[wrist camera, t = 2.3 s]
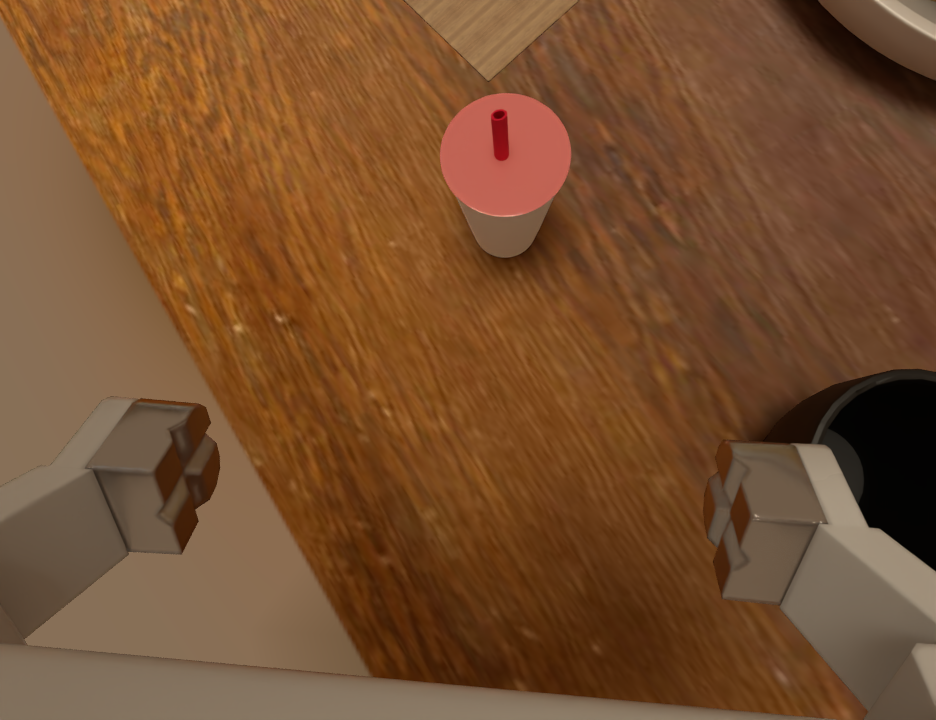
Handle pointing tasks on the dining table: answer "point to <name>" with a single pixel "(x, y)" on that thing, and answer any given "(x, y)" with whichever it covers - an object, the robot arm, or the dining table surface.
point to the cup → (505, 168)
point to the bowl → (893, 29)
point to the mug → (879, 449)
